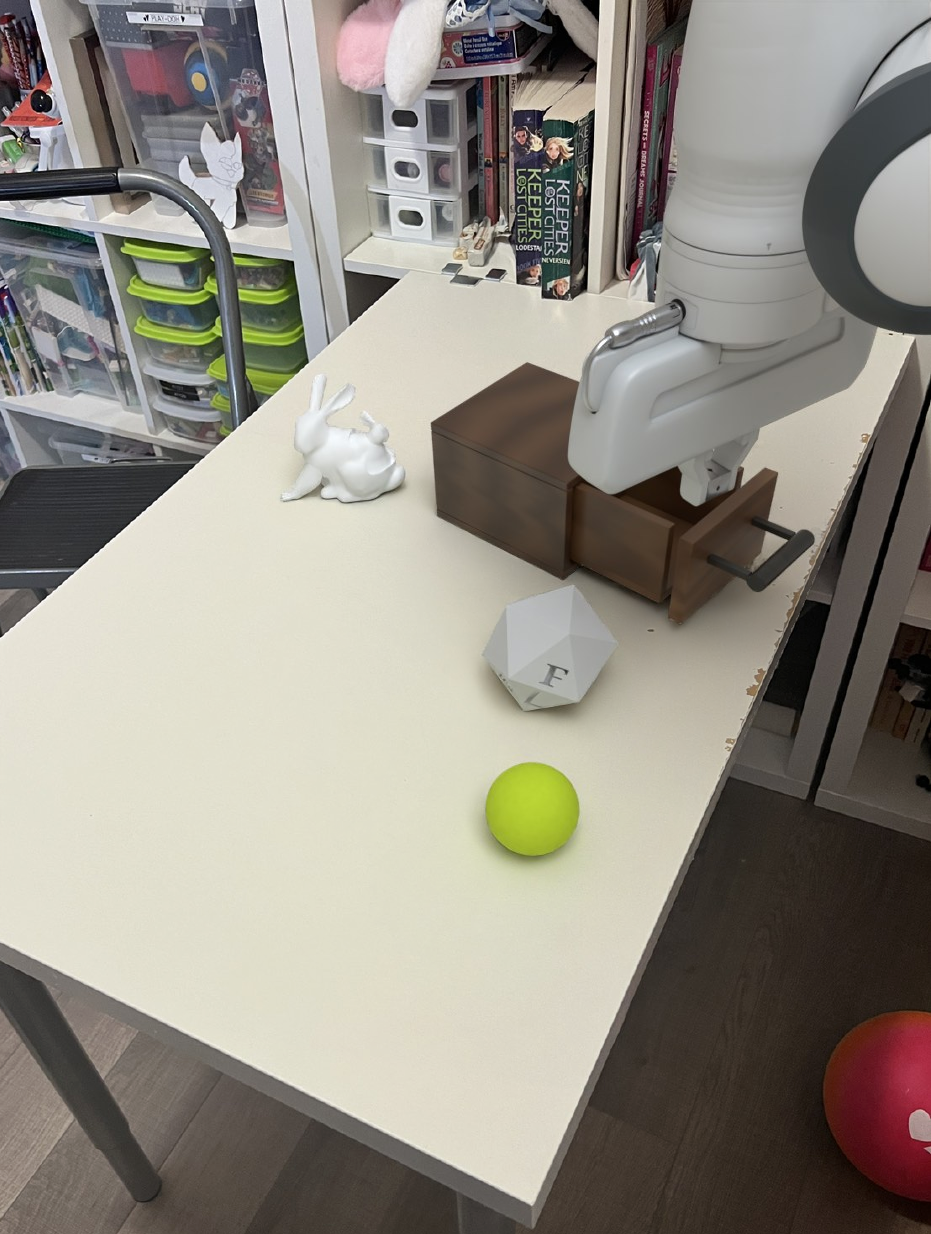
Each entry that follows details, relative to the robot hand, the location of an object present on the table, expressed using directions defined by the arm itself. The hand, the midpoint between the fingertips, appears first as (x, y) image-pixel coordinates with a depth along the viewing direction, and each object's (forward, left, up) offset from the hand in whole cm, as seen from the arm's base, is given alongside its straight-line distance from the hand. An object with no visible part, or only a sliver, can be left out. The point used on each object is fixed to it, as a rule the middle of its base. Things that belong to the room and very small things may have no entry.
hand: (706, 494), depth 65 cm
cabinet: (+11, -20, -17) cm, 29 cm away
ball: (+9, +16, -14) cm, 23 cm away
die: (+9, +2, -17) cm, 19 cm away
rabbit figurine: (+30, -24, -17) cm, 43 cm away
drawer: (0, -12, -16) cm, 20 cm away
